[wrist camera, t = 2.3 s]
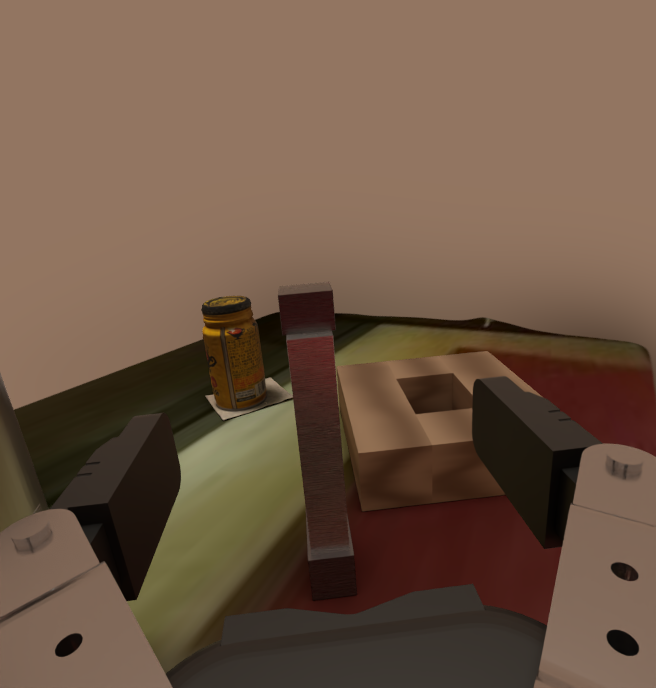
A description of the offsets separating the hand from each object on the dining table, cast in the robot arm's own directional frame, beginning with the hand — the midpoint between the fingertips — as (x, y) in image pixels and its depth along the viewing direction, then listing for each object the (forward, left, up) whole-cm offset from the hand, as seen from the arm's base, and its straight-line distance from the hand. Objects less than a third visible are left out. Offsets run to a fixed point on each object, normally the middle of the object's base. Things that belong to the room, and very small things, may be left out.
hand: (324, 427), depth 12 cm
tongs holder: (+4, +26, -17) cm, 31 cm away
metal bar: (-3, +11, -17) cm, 20 cm away
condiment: (-17, +34, -17) cm, 42 cm away
